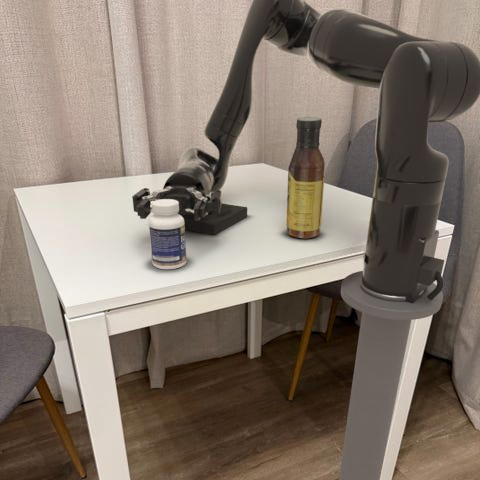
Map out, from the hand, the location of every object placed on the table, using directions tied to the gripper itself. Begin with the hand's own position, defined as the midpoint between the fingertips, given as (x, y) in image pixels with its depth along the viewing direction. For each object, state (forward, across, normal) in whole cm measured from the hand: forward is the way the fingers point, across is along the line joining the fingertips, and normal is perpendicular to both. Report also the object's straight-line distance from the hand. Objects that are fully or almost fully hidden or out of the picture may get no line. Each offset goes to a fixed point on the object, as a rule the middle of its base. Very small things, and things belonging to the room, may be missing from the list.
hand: (169, 213), depth 74 cm
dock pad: (-21, +2, +8) cm, 22 cm away
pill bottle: (+2, 0, +8) cm, 8 cm away
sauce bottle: (-14, +21, +8) cm, 27 cm away
